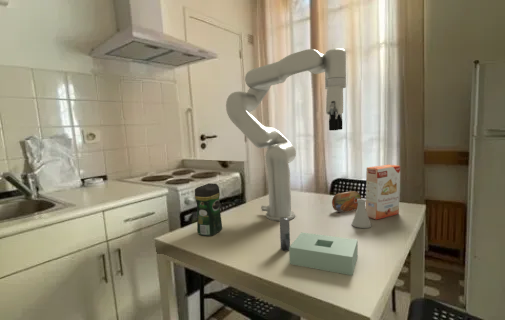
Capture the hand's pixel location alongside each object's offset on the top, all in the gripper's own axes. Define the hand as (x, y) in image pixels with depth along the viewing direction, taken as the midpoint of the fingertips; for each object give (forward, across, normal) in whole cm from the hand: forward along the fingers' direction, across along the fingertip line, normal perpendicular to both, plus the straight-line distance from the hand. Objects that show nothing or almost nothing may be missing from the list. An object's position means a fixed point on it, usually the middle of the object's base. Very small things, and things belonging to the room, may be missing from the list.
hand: (335, 129), depth 108 cm
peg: (+37, +30, -11) cm, 49 cm away
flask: (+37, 0, +9) cm, 38 cm away
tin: (+37, -18, +1) cm, 41 cm away
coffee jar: (+37, +26, -43) cm, 62 cm away
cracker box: (+37, -15, +16) cm, 43 cm away
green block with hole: (+37, +33, +2) cm, 49 cm away
